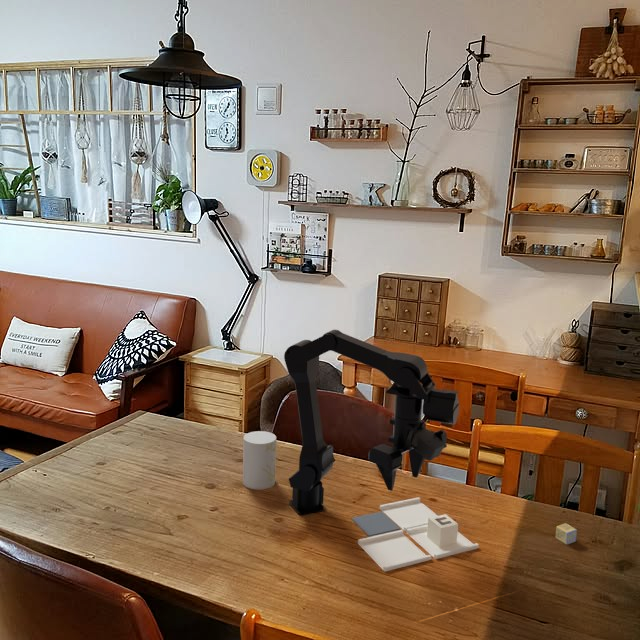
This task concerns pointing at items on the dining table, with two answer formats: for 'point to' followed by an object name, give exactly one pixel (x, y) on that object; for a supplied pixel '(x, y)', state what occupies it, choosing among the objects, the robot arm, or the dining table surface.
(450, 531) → the letter cube
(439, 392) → the robot arm
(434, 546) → the tray
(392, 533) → the tray
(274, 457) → the white cylinder
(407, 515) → the tray
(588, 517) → the dining table surface
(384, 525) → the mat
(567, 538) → the alphabet block
